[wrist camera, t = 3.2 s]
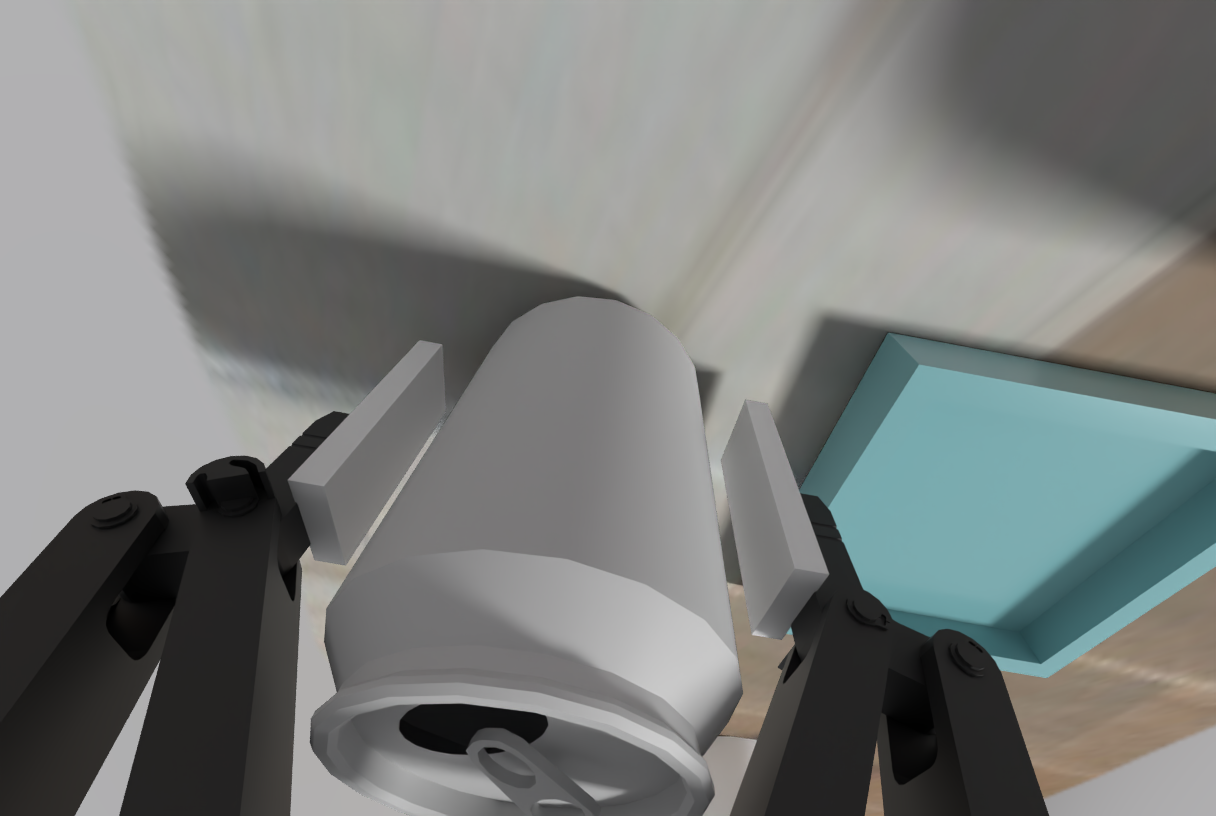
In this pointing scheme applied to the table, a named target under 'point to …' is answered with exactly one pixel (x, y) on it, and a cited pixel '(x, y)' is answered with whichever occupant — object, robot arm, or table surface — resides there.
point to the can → (544, 591)
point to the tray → (1019, 496)
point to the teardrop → (727, 771)
